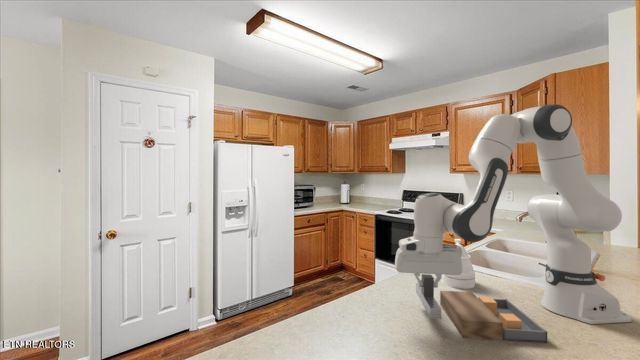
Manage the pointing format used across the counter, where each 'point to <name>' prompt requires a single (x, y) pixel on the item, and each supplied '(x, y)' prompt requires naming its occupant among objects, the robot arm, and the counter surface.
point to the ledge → (471, 316)
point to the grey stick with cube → (429, 297)
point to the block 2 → (510, 321)
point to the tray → (529, 327)
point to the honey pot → (466, 276)
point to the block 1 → (489, 304)
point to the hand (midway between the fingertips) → (427, 286)
